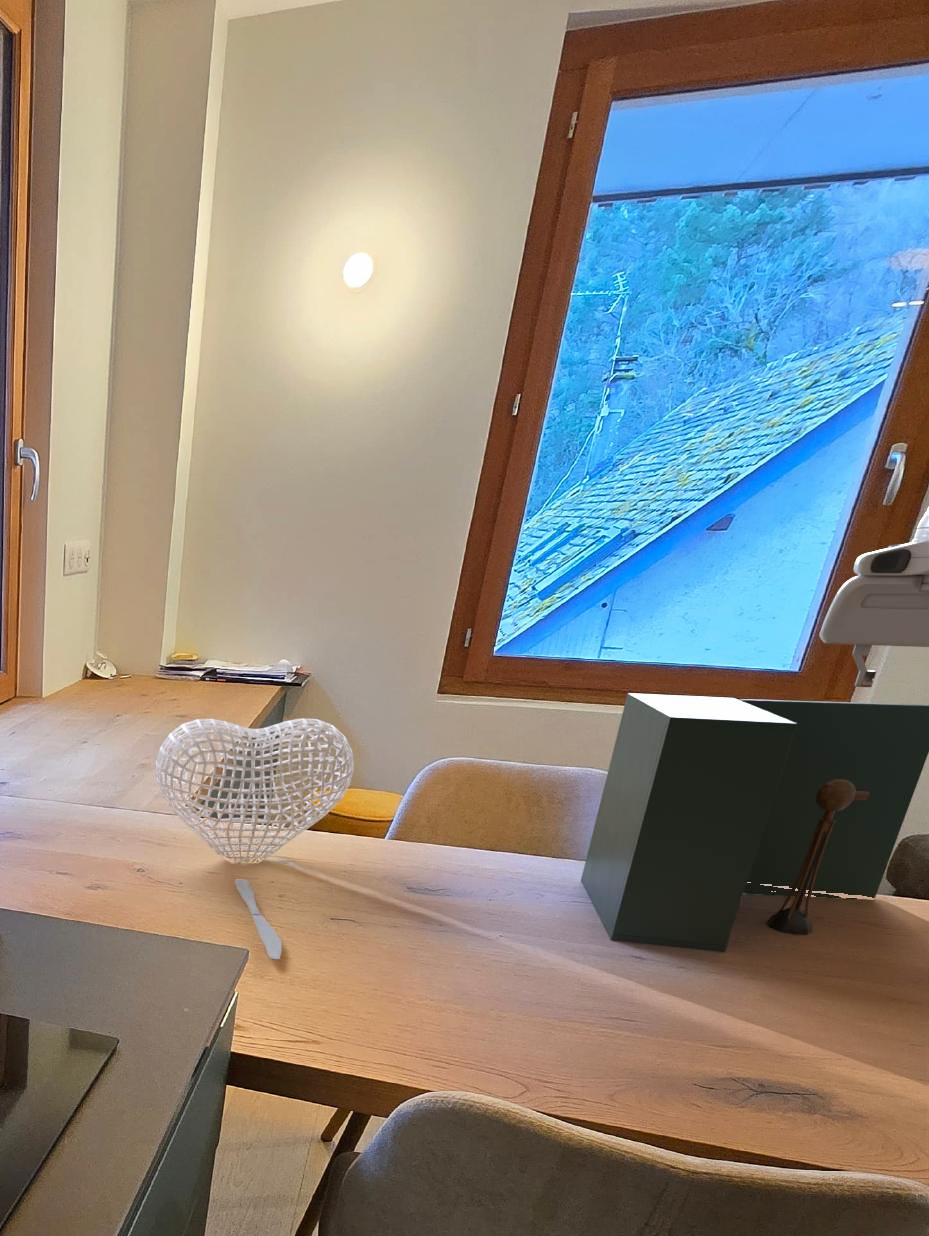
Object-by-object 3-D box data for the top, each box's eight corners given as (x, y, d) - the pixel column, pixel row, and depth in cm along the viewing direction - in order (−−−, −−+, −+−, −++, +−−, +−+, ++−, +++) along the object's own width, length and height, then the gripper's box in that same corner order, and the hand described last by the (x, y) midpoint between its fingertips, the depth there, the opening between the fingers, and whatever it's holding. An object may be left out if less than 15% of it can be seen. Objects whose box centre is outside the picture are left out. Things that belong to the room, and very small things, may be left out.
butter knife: (254, 878, 144) (233, 876, 144) (290, 959, 120) (264, 958, 120) (253, 882, 144) (232, 880, 144) (289, 964, 120) (264, 962, 120)
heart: (324, 851, 161) (344, 708, 151) (350, 886, 147) (373, 731, 137) (145, 850, 163) (154, 709, 154) (154, 884, 149) (164, 731, 140)
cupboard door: (663, 886, 147) (718, 693, 136) (841, 898, 143) (912, 699, 132) (683, 901, 141) (742, 699, 130) (869, 913, 136) (946, 706, 126)
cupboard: (675, 900, 142) (734, 697, 131) (723, 956, 122) (797, 723, 112) (578, 890, 145) (627, 693, 135) (609, 943, 126) (670, 717, 115)
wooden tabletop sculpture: (802, 927, 130) (858, 773, 122) (827, 942, 126) (887, 784, 118) (754, 927, 131) (806, 774, 122) (778, 942, 127) (834, 784, 118)
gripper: (1092, 556, 106) (1039, 692, 112) (841, 557, 118) (805, 681, 123) (1104, 556, 102) (1049, 699, 107) (842, 557, 113) (804, 686, 119)
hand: (916, 689), depth 115 cm, fingers open, 8 cm apart
